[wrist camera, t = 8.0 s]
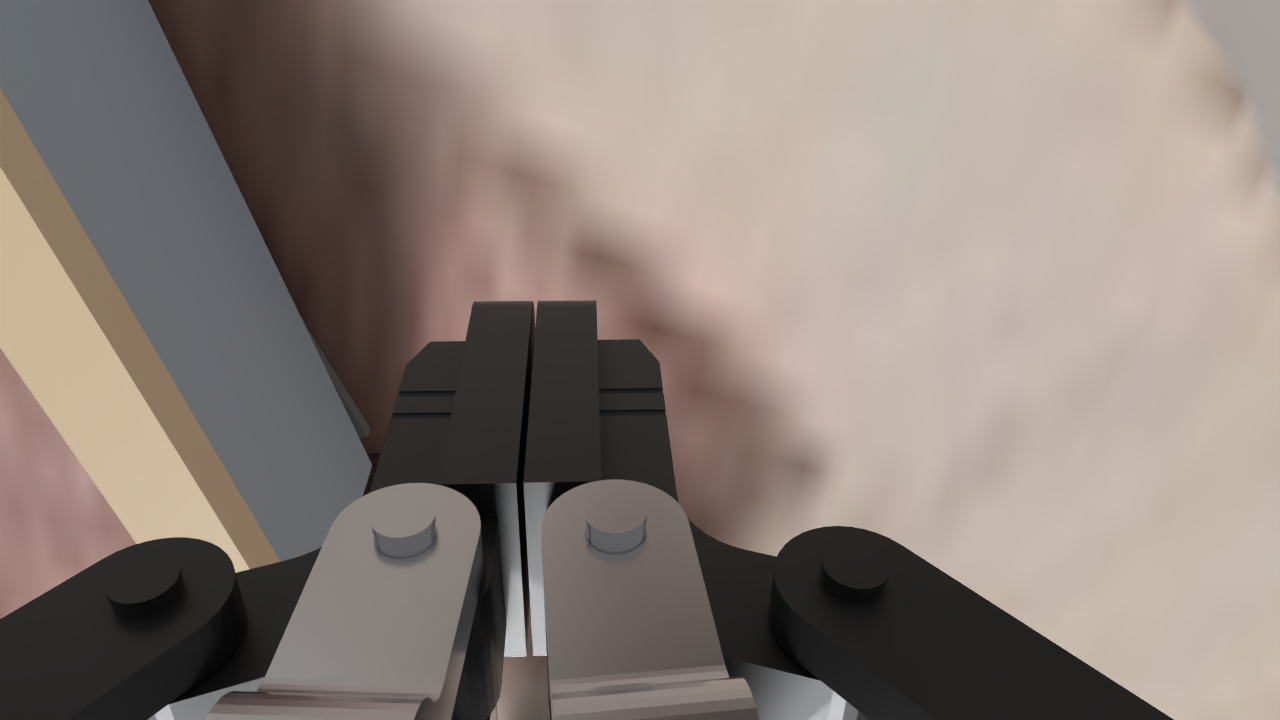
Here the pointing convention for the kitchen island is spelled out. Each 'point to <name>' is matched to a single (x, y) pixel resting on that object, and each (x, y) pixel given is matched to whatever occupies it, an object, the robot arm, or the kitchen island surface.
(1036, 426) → the kitchen island surface
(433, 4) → the kitchen island surface
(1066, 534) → the kitchen island surface
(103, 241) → the gate
